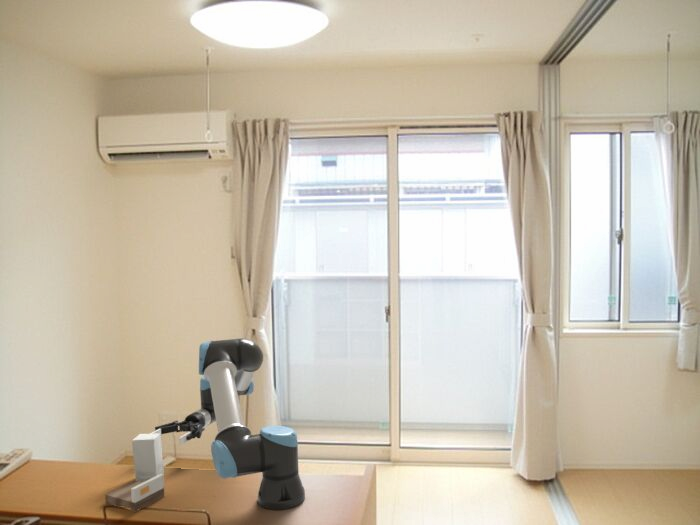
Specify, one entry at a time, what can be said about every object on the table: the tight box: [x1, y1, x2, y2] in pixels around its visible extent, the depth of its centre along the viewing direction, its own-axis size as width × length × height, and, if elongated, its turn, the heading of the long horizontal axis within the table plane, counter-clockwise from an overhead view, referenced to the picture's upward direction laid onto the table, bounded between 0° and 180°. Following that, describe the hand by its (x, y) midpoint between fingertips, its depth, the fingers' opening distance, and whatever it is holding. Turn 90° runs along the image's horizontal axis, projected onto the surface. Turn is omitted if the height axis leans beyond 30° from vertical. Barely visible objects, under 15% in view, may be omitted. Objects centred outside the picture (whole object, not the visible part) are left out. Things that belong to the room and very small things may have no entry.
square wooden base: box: [104, 474, 165, 513], centre depth 193 cm, size 14×12×7 cm
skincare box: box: [131, 433, 165, 482], centre depth 209 cm, size 8×7×16 cm
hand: (164, 439), depth 218 cm, fingers open, 13 cm apart
